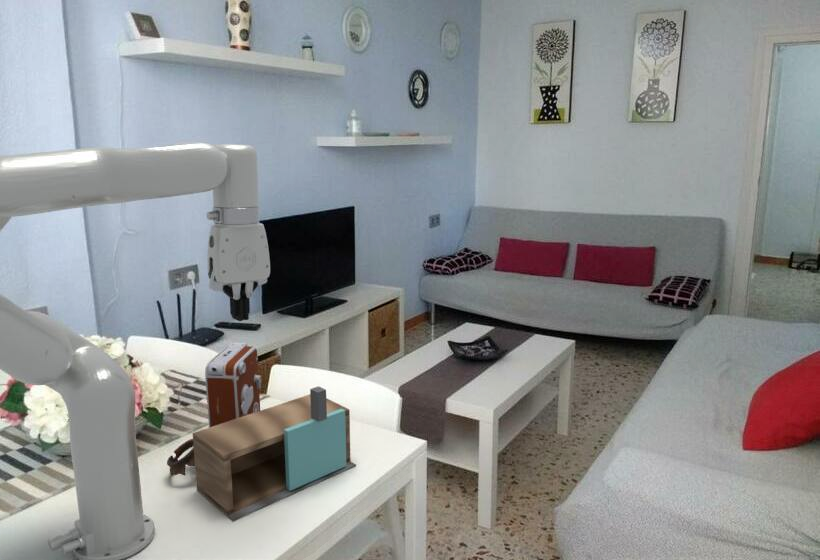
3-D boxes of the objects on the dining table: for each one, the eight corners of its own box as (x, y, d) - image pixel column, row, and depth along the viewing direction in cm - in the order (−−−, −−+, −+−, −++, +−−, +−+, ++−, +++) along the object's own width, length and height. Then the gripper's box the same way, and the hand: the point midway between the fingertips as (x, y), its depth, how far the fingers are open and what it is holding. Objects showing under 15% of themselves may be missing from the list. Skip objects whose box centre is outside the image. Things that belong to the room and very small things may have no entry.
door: (291, 492, 120) (288, 402, 116) (284, 487, 122) (280, 398, 117) (348, 466, 129) (346, 383, 125) (340, 462, 131) (339, 379, 127)
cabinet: (232, 521, 112) (228, 459, 109) (196, 490, 122) (192, 433, 119) (355, 466, 131) (355, 412, 128) (316, 443, 141) (314, 392, 138)
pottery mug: (214, 490, 123) (189, 460, 120) (179, 502, 126) (153, 473, 123) (239, 447, 133) (216, 419, 130) (205, 459, 137) (182, 432, 134)
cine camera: (273, 414, 155) (269, 336, 151) (245, 452, 137) (240, 364, 132) (237, 412, 156) (232, 334, 152) (204, 450, 137) (198, 362, 133)
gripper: (205, 221, 102) (210, 331, 106) (285, 216, 112) (287, 316, 116) (185, 217, 107) (191, 321, 111) (263, 212, 118) (266, 308, 121)
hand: (240, 318), depth 114 cm, fingers closed
